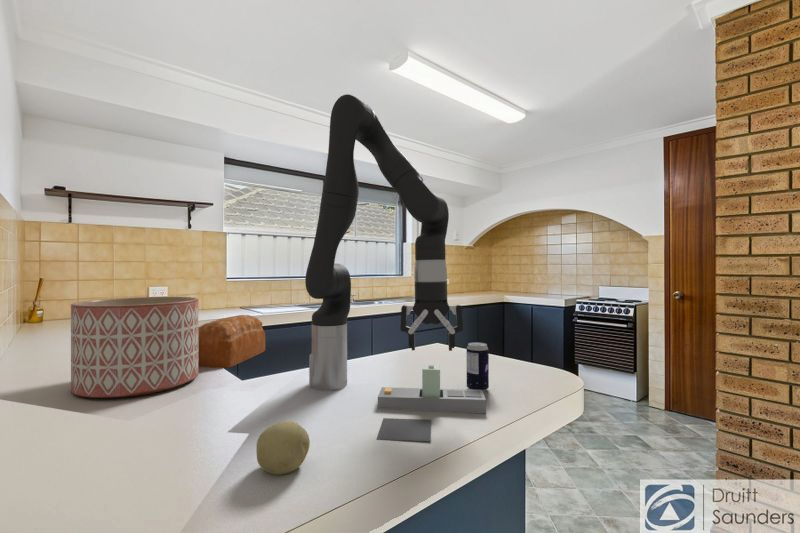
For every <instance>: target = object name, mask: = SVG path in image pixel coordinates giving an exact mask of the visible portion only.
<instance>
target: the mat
mask: <svg viewBox="0 0 800 533" xmlns="http://www.w3.org/2000/svg"><path fill="white" fill-rule="evenodd" d="M431 435H432V419H423V418H419V419H418V418H416V419H415V418H394V417H393V418H388V417H387V418H385V417H383V419H382V421H381V425H380V427H379V430H378V433H377V437H376V440H378V441H394V442H411V443H412V442H413V443H425V444H426V443H427V444H431V441H432V439H431V437H432V436H431Z"/></svg>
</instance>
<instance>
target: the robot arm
mask: <svg viewBox="0 0 800 533" xmlns="http://www.w3.org/2000/svg"><path fill="white" fill-rule="evenodd" d="M328 135H329V136H328V137H329V138H328V152H327V160H326V168H325V173H324V174H325V176H324V182H323V186H322V192H321V198H320V205H319V213H318V220H317V225H316V230H315V236H314V240H313V245H312V249H311V253H310V257H309V260H308V263H307V264H308V265H307V267H306V268H307V269H306V271H305V272H306V273H305V277H304V278H305V282H304V283H305V284H304V286H305V289H306V291H307V293H308V295H309V296H310V297H311V298H313V299H315V300H322V303H321V304H320V307H319V308H318V309H317V310H316V311H314V312H313V313H312V315H311V353H309V357H308V358H309V359H308V361H309V362H308V364H309V366H308V367H309V368H308V376H309V380H308V382H309V384H308V386H309V388H310V389H315V390H317V391H321V392H322V391H325V392H326V391H330V392H333V391H338V390H342V389H344V388H346V387H347V386H348V317H349V314H350V310H351V297H352V296H351V295H352V294H351V293H352V278H351V275H350V272H349V270H348V267H346V266H345V265H344V264H342V263H335V262H336V257H337V253H338V252H337V251H338V248H339V246H340V243H341V241H342V240H343V238H344V237H345V235H346V233H347V232H348V230H349V229H350V227H351V225H352V223H353V222H354V219H355V216H356V213H357V208H358V207H357V206H358V201H359V194H360V188H359V181H358V176H357V170H356V165H355V160H354V159H355V158H354V156H355V153H354V152H355V145H356V141H357V142H358V143H360V144H361V145H362V146H363V147H364V148H366V149H367V150H368V151H369V153H371V155H372V156H373V157H374V159H375V161H376V163H377V165H378V168H379V170H380V172H381V174H382V175H383V177H384V178H385V179H386V181H387V183H388V184H389V185H390V186H391V187H392V189H394V191H395V193H397V195H399V197H400V200H401V202H402V203H403V205H404V207H405V208H406V210H407V211H408V213H409V214H410V215H411V217H412V218H413V219H415V220H416V221H417V222H419V223H421V226H420V233H419V234H420V235H418V236H417V237H416V238H415V242H414V258H415V261H414V271H413V272H414V277H413V278H414V303H413V305H408V304H407V305H406V304H403V305H401V308H400V331H401V332H403V333H407V336H408V348H409V349H411V351H415V350H416V343H415V342H416V334H415V332H416V330H417V328H418V327H419V326H420V325H421V324H424V325H430V324H433V325H439V324H442V325H443V326H444V328H446V330H447V331H448V351H450V352H452V351H453V349H455V348H456V347H455V346H456V334H457V333H460V332H463V330H464V326H463V325H464V324H463V314H462V313H463V311H462V305H461V304H459V303H458V304H455V305H449V303H448V272H447V271H448V268H447V261H446V238H447V232H448V227H449V226H448V225H449V217H450V216H449V215H450V214H449V207H448V204H447V202H446V200H445V199H444V198H443V197H442V196H439V195H437V194H435V193H433V192H432V191H431V190H430V188H429V187H428V186H427V185H426V184H425V183H424V178H423V176H422V174H420V172H419V171H418V170H417V168H416V167H415V166H414V165H413V164H412V163H411V162H410V161H409V158H407V157H406V155H405V154H403V152H401V150H400V149H399V148H398V147H397V146H396V144H395V143H394V142H393V140H392V139H391V138H390V136H389V134H388V133H387V132H386V129H385V128H384V126H383V125H382V123H381V121H380V120H379V117H378V116H377V114H376V112H375V110H374V109H373V108H372V106H369V105H368V104H366V103H365V102H364V101H363V100H361V99H359V98H357V97H356V96H354V95H353V94H348V93H347V94H343V95H341V96H340V97H338V98H337V100H336V101H335V102H334V103H333V106H332V109H331V113H330V119H329V134H328ZM412 311H413V313H414V314H415V315H416V317H417V318H416V319H415V320H414V322H412V325H411V326H407V324H408V322H407V319H408V316H409V315H410V314H411V312H412ZM450 311H451V312H452V315H455V317H456V318H455V320H456V326H453V325H452V324H451V323H450V320H448V318H446V316H447V315H448V314H449V312H450Z"/></svg>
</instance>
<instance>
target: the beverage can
mask: <svg viewBox="0 0 800 533" xmlns="http://www.w3.org/2000/svg"><path fill="white" fill-rule="evenodd" d="M489 352H490V350H489V348H488V344H487V343H485V342H478V341H477V342H468V344H467V347H466V388H467V389H471V390H482V391H483V393H485V392H486V391H487V390H488V389H489V387H490V384H489V382H490V379H489V375H490V374H489V372H490V371H489V368H490V367H489V366H490V365H489V364H490V363H489V362H490V361H489V360H490V358H489V354H490V353H489Z"/></svg>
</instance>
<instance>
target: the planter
mask: <svg viewBox="0 0 800 533" xmlns="http://www.w3.org/2000/svg"><path fill="white" fill-rule="evenodd" d="M198 327H199V298H198V297H193V296H192V297H191V296H141V297H139V296H138V297H136V296H135V297H119V298H118V297H117V298H103V299H94V300H93V299H92V300H91V299H90V300H83V301H76V302H73V303H71V304H70V392H71V394H73V395H75V396H77V397H81V398H88V399H92V398H93V399H106V398H107V399H108V398H110V399H111V398H128V397H130V398H131V397H136V396H137V397H138V396H143V395H144V396H145V395H150V394H154V393H160V392H163V391H166V390H170V389H174V388H176V387H179V386H181V385H184V384H187V383H189V382H190V381H193V380H194V379H195V378H197V377H198V376H199V367H198Z"/></svg>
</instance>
